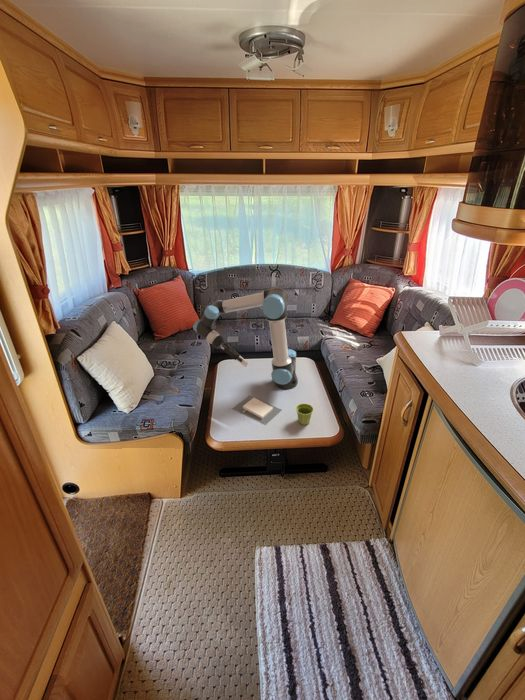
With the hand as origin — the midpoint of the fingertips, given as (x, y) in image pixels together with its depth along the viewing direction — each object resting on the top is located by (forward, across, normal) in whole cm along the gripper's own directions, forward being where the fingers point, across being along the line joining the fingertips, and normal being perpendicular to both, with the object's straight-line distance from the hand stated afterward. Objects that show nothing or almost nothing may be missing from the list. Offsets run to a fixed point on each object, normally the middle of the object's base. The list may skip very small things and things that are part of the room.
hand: (246, 364), depth 195 cm
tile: (+13, -4, -18) cm, 23 cm away
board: (+20, -4, -18) cm, 27 cm away
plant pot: (+44, -3, -5) cm, 45 cm away
